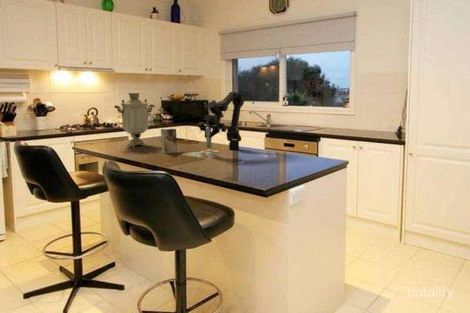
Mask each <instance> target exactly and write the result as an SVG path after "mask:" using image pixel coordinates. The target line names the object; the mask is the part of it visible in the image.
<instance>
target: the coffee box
mask: <svg viewBox="0 0 470 313" xmlns="http://www.w3.org/2000/svg"><path fill="white" fill-rule="evenodd" d="M160 134H161V136H160V137H161V153H163V154H171V153H172V154H173V153H178V142H177V141H178V138H177V129H176V128H163V129H160Z"/></svg>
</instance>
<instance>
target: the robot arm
mask: <svg viewBox="0 0 470 313" xmlns="http://www.w3.org/2000/svg"><path fill="white" fill-rule="evenodd" d="M245 100H246V98H245V96H244V95H243V94H241V93H239V92H237V91H230V92H229V93H228V94H227V95H226V96H225V97H224V98H223V99H222V100H220V101H216V99H214V100H213V99H212V100H211V101H210V102H208V103H207V108H208V110H209V111H210V113H211V114H212V115H211V114H206V115H205V117H204V121H206V122H201V121H200V122H198V124H197V126H198V128H199V129H200V131H201V132H204V138H205V139H206V127H211V134H210V138H211V139H212V138H213V137H214V136H215V135H217V134H219V133H221V132H222V133H226V140H227V142H229V143H228V148H229V150H230V151H239V150H240V142H241V141H242V136H241V135H240V130H239V120H240V115H241V108H242V107H243V106H244V104H245ZM231 103H232V106H233V110H232V116H231V123H230V127H228V128H227V127H226V124H225V123H223V122H222V123H221V119H222V118H224V113H223V112H227V110H228V109H229V105H230V104H231Z"/></svg>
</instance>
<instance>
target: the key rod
mask: <svg viewBox="0 0 470 313" xmlns="http://www.w3.org/2000/svg"><path fill="white" fill-rule="evenodd" d="M211 132H212V129H211V127H206V138H205V140H206V142H205V143H206V149H211V148H212V145H213V144H212V138H210V134H211Z"/></svg>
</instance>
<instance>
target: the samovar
mask: <svg viewBox="0 0 470 313" xmlns="http://www.w3.org/2000/svg"><path fill="white" fill-rule="evenodd" d="M127 94H128V95H129V98H130V99H129V100H127V101H125V99H122V100H121V102H120V104H121V106H120V105H114V106H113V107H114V108H115V109H116V110H117V112H118V113H119V114H121V121H122V129H123V130H124V132H126V133H128V134H130V135H131V138H132V139H131V140H129V142H128V143H127V145H128V146H129V145H131V148H135V146H137V145H143V146H146V147H147V145H146V144H145V143H144V141H143V140H142V139H141V136H142V134H144V133H145V132H146V131H147V130H148V129H149V126H150V125H149V124H150V123H149V113H152V111H153V108H155V107H156V106H155V105H154V104H149V103H148V102H147V101H148V100H147V99H146V98H145V99H144V101H142V100H140V99H139V98H140V94H141V93H140V92H130V93H127ZM121 107H122V108H121ZM127 145H126V146H127Z"/></svg>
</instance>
